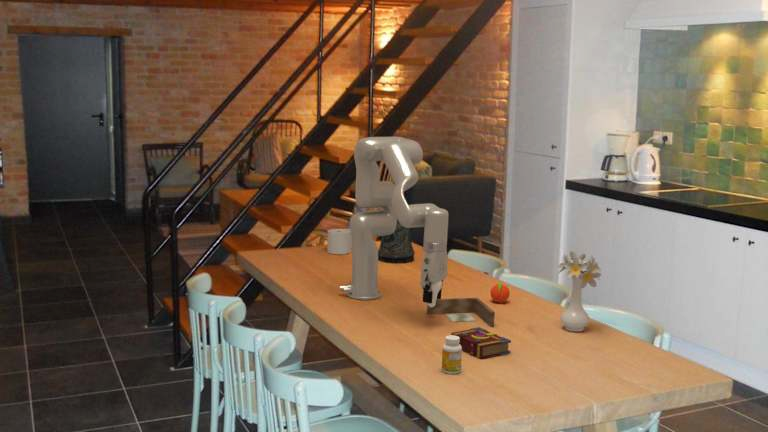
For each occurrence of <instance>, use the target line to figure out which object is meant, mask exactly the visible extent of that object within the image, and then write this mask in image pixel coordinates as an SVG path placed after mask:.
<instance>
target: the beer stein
mask: <svg viewBox="0 0 768 432" xmlns="http://www.w3.org/2000/svg"><path fill="white" fill-rule="evenodd" d="M378 210H380V208H379V209H378ZM410 229H411V228H406V227H403V226H402V225H401V224H400V223H399V221H398V219H397V223H396V229H395V231H394V232H393V233H392V234H390V235H385V236H377V238H378V239H379V240H380V244H379V247H378V261H379V260H380V261H379V262H382V263H386V264H395V265H396V264H397V265H399V264H400V265H402V264H408V263H412V262H414V261H415V250H414V248H413V247H414V246H413V244H412V237H411V231H410Z"/></svg>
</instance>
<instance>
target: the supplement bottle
mask: <svg viewBox="0 0 768 432" xmlns="http://www.w3.org/2000/svg"><path fill="white" fill-rule="evenodd" d="M444 342H445V343H444V344H443V345H442V352H441V353H442V355H441V356H442V358H441V371H442V372H443V373H445V374H450V375H452V374H453V375H454V374H459V373H461V371H462V360H463V359H462V357H463V354H462V353H463V350H462V347H461V345H460V344H459V342H460V337H458V336H454V335H451V334H449V335H446V336H445V341H444Z"/></svg>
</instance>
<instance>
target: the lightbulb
mask: <svg viewBox="0 0 768 432" xmlns="http://www.w3.org/2000/svg"><path fill="white" fill-rule="evenodd" d="M426 281H429V280H428V279H427V280H426ZM429 282H430V281H429ZM442 283H443V282H442V281H439V282H437V283H434V284H432V292H433V294H432V303H431V304H430V303H428V306H430V307H433V306H435V304H436V299H437V294H438V292H439V291H440V289H441V287H443V286H442ZM426 284H427V285H428V286H429V285H430V284H429V283H426Z"/></svg>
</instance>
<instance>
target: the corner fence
mask: <svg viewBox="0 0 768 432" xmlns="http://www.w3.org/2000/svg"><path fill="white" fill-rule="evenodd" d="M471 313H474V314H475V315H477V316H478V318H480V319H481V320H482V321H483V322H485V324H486V325H488V326H489V327H490V328H494V327H495V313H496V312H495V311H494V310H493V309H491V307H489V306H488V305H487V304H486V303H484V302H483V301H482V300H481V299H480V298H478V297H461V298H460V297H459V298H457V297H455V298H441V299H436V304H435V306H433V307H430V306H428V303H426V315H444V314H445V316H446V317H447V318H448V319H449V320H450V321H452V323H459V322H460V323H463V322H476V319H475V318H474V317H473V316H472V315H470V314H471Z"/></svg>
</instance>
